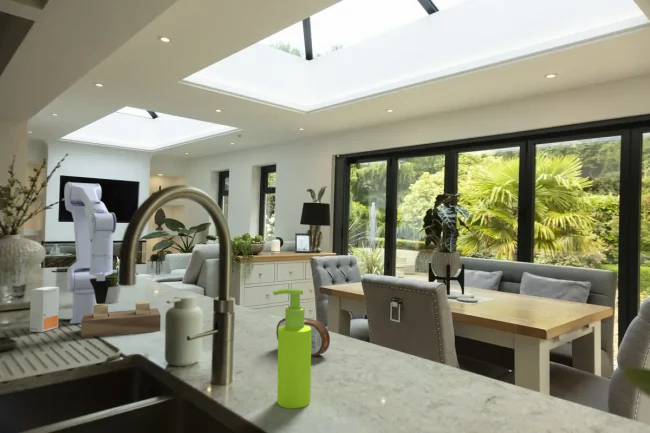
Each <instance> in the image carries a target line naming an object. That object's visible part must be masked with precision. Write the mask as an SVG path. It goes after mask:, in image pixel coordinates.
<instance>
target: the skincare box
mask: <svg viewBox="0 0 650 433" xmlns="http://www.w3.org/2000/svg"><path fill="white" fill-rule="evenodd" d="M59 302H60V287H59V286H43V287H37V288H32V289H30V308H29V312H30V313H29V332H34V333H37V332H38V333H44V332H46V331H50V330H54V329H58V328H59V315H60V314H59V313H60V312H59V310H60V309H59V307H60V303H59Z"/></svg>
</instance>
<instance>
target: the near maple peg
mask: <svg viewBox="0 0 650 433" xmlns="http://www.w3.org/2000/svg"><path fill="white" fill-rule="evenodd" d="M108 312H109V303H105V304H96V305H94V307H93V318H99V317H108Z"/></svg>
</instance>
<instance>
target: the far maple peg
mask: <svg viewBox="0 0 650 433" xmlns="http://www.w3.org/2000/svg"><path fill="white" fill-rule="evenodd" d="M150 307H151V303H150V301H149V300H143V301H135V310H136V315H138V314H150V309H151V308H150Z"/></svg>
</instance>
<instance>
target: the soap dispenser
mask: <svg viewBox="0 0 650 433" xmlns="http://www.w3.org/2000/svg"><path fill="white" fill-rule="evenodd" d="M272 294H273V295H274V296H278V295H284V294H287V295H289V297H290V299H289V300H290V302H289V303H290V305H289V306H287V307H286V308H285V311H284V312H285V317H284V318H285V325H284V326H281V327H279V328H278V339H277V396H276V397H277V400H276V402H277V404H278V405H279V406H280V407H282V408H285V409H302V408H304V407H307V406H309V404H311V393H312V391H311V387H312V386H311V384H312V382H311V380H312V379H311V377H312V376H311V374H312V372H311V371H312V356H311V327H309V326H306V325H304V318H305V307H303V306H301V305H300V304H301V295H304V289H300V288H281V289H276V290H273V291H272Z"/></svg>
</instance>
